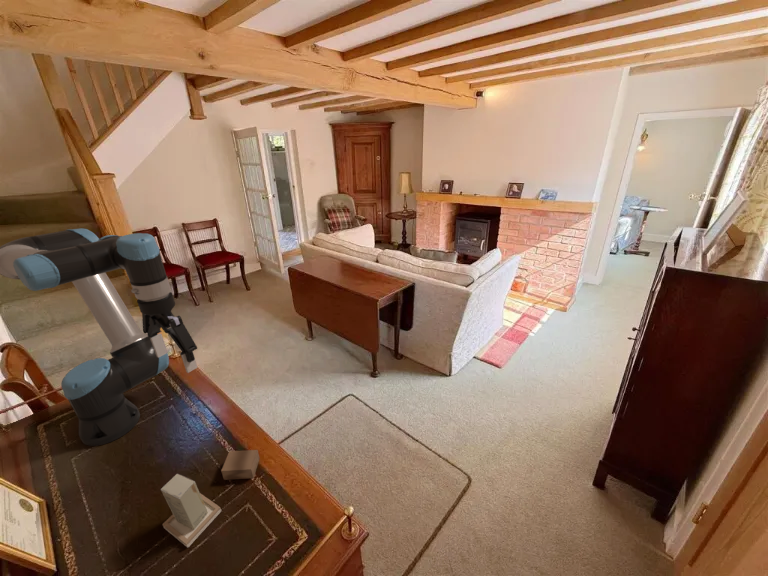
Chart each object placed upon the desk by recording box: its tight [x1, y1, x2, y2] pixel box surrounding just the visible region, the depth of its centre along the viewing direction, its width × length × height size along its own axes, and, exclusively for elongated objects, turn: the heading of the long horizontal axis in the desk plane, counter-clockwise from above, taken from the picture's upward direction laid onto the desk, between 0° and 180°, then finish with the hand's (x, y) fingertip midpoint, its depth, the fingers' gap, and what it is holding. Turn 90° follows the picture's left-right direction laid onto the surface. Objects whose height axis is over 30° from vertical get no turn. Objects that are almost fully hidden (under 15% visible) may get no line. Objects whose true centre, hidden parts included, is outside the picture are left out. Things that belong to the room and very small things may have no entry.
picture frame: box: [162, 492, 222, 548], centre depth 78 cm, size 9×9×2 cm
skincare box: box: [160, 473, 208, 529], centre depth 76 cm, size 6×4×12 cm
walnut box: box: [220, 449, 260, 481], centre depth 90 cm, size 8×6×4 cm
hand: (176, 362), depth 89 cm, fingers open, 13 cm apart
